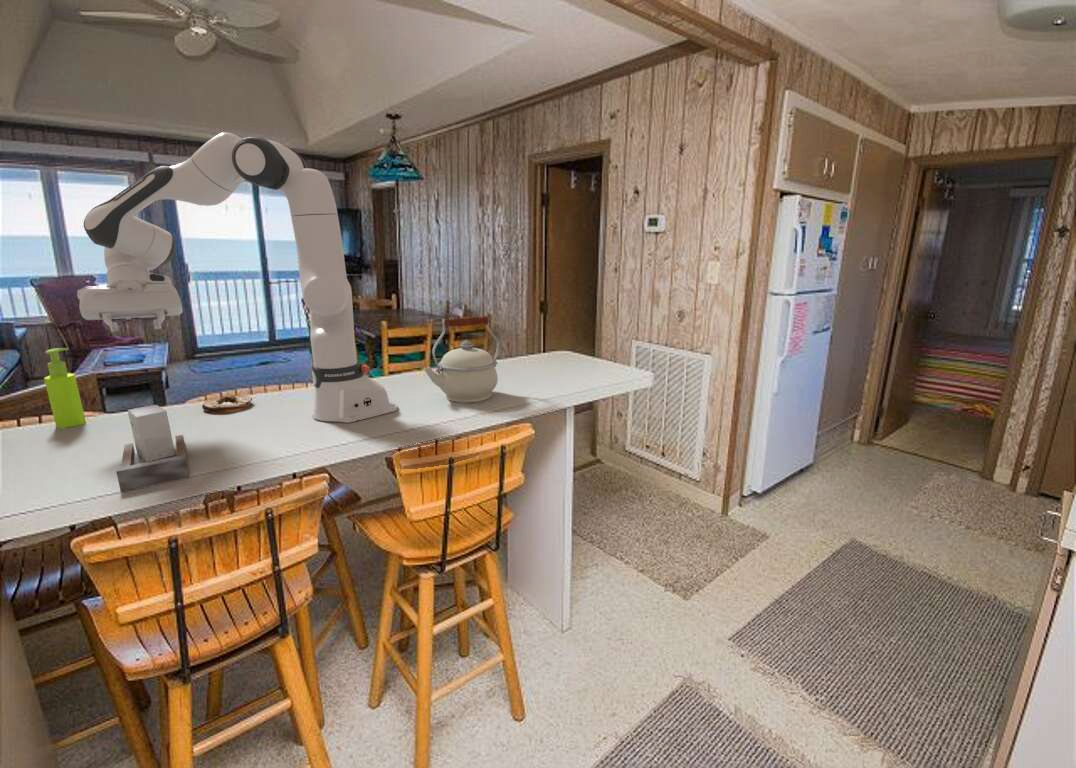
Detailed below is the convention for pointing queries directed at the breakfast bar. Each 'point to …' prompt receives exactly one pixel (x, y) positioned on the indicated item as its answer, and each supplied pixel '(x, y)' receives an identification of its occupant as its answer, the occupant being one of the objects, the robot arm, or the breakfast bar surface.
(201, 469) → the breakfast bar surface
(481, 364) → the kettle
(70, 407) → the soap dispenser
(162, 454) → the small box
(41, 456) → the breakfast bar surface
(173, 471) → the guide channel
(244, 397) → the brown speckled ring
